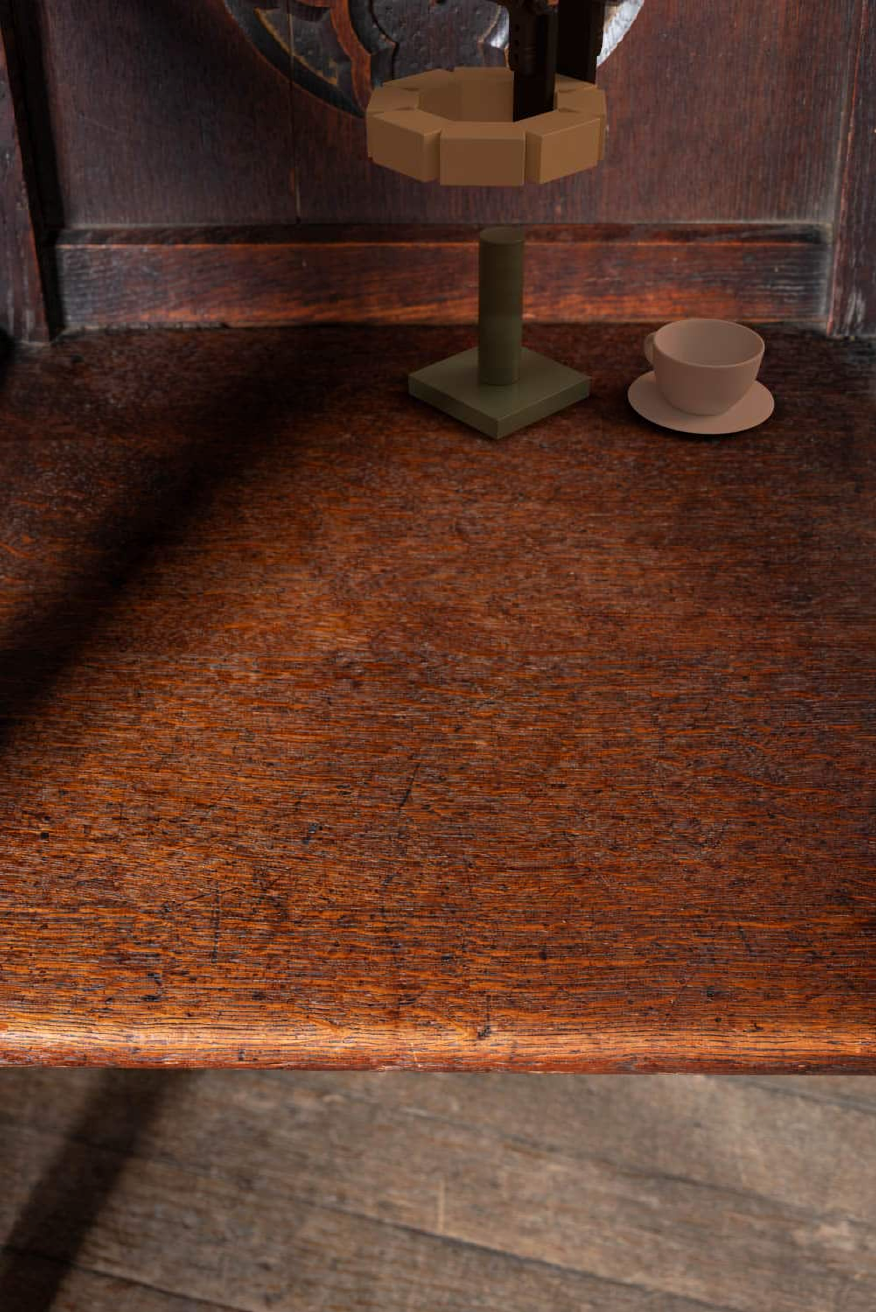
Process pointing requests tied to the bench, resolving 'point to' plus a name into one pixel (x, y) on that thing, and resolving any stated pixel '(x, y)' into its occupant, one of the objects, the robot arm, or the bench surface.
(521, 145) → the ring of blocks
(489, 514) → the bench surface
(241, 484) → the bench surface
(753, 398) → the teacup
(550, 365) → the stand
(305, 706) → the bench surface
